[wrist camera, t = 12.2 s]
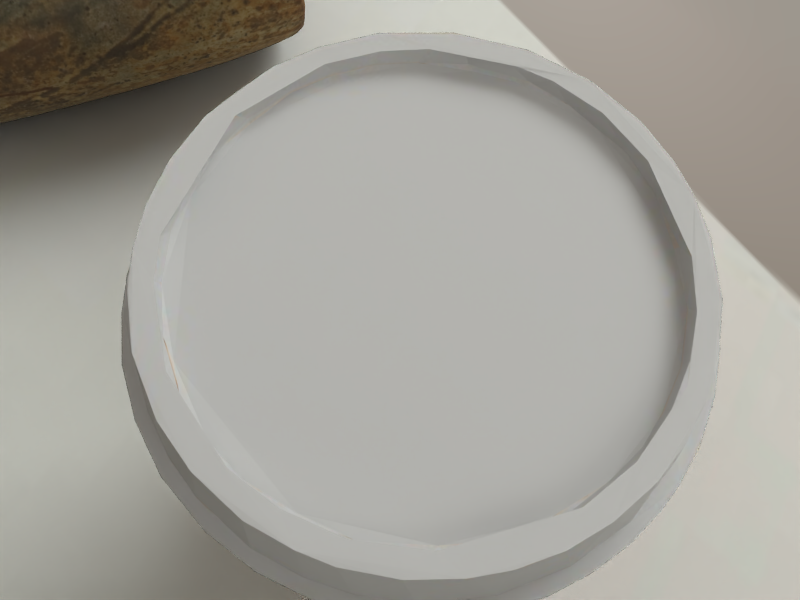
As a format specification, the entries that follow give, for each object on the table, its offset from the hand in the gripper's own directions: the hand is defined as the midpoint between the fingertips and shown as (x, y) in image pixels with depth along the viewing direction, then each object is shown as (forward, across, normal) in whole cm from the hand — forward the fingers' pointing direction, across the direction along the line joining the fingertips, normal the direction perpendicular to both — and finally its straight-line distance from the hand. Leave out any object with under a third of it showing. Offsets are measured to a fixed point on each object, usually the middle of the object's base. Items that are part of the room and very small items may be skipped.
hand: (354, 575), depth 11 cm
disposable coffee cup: (+10, 0, -4) cm, 11 cm away
